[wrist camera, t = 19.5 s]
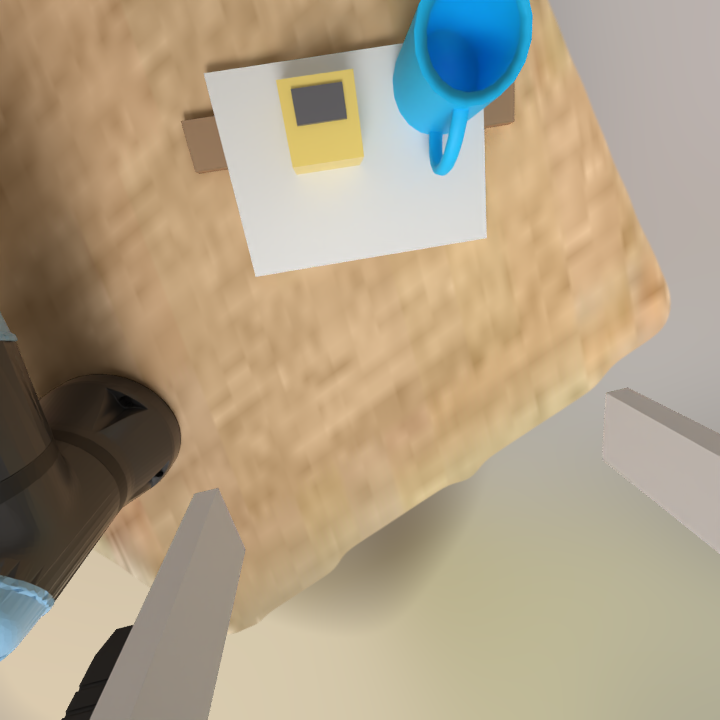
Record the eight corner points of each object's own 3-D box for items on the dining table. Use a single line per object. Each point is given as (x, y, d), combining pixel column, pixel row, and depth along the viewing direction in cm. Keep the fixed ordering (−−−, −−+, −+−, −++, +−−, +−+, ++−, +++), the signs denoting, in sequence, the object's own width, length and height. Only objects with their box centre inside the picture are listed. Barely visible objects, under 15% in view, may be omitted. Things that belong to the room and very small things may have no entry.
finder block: (296, 174, 33) (292, 167, 29) (282, 98, 31) (275, 78, 27) (360, 165, 33) (364, 155, 29) (349, 88, 31) (353, 66, 27)
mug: (395, 20, 29) (419, -54, 22) (489, 28, 30) (544, -41, 22) (387, 179, 34) (405, 165, 26) (470, 183, 34) (511, 170, 27)
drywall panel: (229, 280, 37) (226, 281, 35) (173, 84, 31) (168, 78, 29) (509, 233, 37) (514, 233, 36) (509, 33, 31) (515, 25, 30)
